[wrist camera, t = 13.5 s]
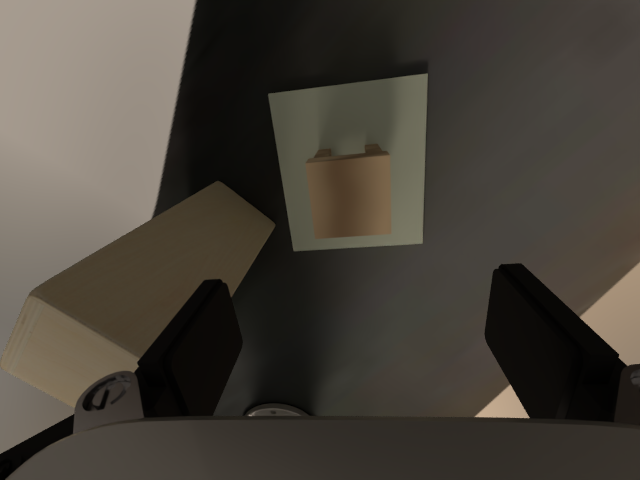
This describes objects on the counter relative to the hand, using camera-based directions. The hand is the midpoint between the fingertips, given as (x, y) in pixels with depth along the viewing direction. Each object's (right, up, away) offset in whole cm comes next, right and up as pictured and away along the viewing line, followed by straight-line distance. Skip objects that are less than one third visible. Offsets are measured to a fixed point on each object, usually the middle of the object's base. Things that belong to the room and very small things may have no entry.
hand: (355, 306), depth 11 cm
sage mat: (+2, +9, +20) cm, 22 cm away
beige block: (-11, +4, +24) cm, 27 cm away
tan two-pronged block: (+2, +9, +19) cm, 21 cm away
